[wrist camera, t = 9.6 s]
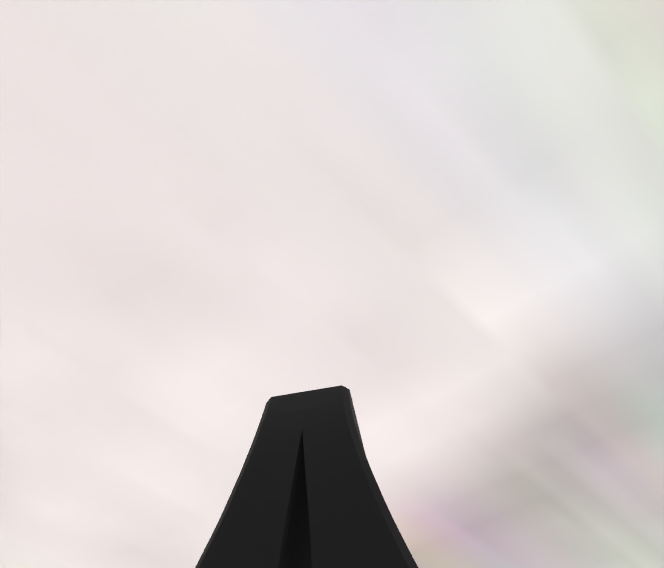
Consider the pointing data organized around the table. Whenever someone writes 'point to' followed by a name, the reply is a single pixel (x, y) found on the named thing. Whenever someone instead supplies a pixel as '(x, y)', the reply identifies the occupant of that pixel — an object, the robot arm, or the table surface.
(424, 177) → the table surface
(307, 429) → the robot arm
